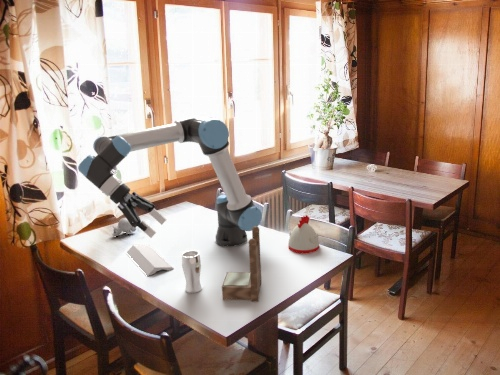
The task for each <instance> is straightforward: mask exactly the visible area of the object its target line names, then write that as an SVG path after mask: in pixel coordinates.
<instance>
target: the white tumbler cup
mask: <svg viewBox="0 0 500 375" xmlns="http://www.w3.org/2000/svg"><path fill="white" fill-rule="evenodd" d="M181 265H182V271H183V275H184V279H185V292H187V293H189V294H195V293H199V292H200V291H202V284H201V271H202V270H201V269H202V268H201V267H202V263H201V256H200V251H199V250H196V249H194V250H193V249H191V250H190V249H189V250H185V251H183V252H182V253H181Z"/></svg>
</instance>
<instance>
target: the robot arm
mask: <svg viewBox="0 0 500 375" xmlns="http://www.w3.org/2000/svg"><path fill="white" fill-rule="evenodd" d="M229 137H230V132H229V128H228V127H227V125H226V123H224V121H222V120H220V119H218V118H216V117H209V116H205V115H194V116H190V117H186V118H183V119H182V118H181V119H178V120H175V121H174V122H173V123H170V124H166V125H165V124H164V125H160V126H155V127H151V128H146V129H141V130H137V131H132V132H127V133H122V134H117V135H113V136H112V135H111V136H108V137H107V136H99V137H96V139H95V140H94V141H93V145H92V146H93V147H92V148H93V150H94V152H95V153H96V154H97V155H95V156H94V155H93V154H90V155H89V154H88V155H87V156H86V157H85V158H84V159H83V160H81V162H80V163H79V165H78V169H77V170H78V171H79V172H80V174H82V176H84V177H85V178H86V179H87V180H88V181H89V182H90V183H91V184H93V185H94V186H95V187H96V188H97V189H98V190H100V192H101V193H103V194H104V195H105V196H106V197H109V200H111V201H112V202H113V203H114V204H115V205H117V207H116V208H118V210H120V211H121V212H122V214H123V216H124V218H127V220H128V221H129V223H130V224H131V226H132V227H134V228H136V229H137V227H138V228H139V229H140V230H141V232H143V233H144V234H146V235H147V237H149V238H150V239H152V238H153V237H154V236H155V235H156V233H157V232H156V231H155V230H154V229H153V228H152V227H151V226H150V225H149V224H147V223H146V222H145V221H144V220H141V217H140V216H139V214H138V212H137V210H136V208H139V209H141V210H143V211H145V212H148V213H149V215H150V216H151V217H153V219H155V220H156V221H157V222H158V223H159V224H160V225H163V224H164V223H165V222H167V218H166V217H164V216H163V215H162V213H160V212H159V211H158V210H157V209H156V208H155V207H156V204H154V203H153V202H151V201H150V200H148V199H145V198H144V197H143V196H141V195H139V193H137V192H135V191H133V192H131V193H130V191H131V188H129V186H127V185H126V184H125V183H123V181H122V179H120V178H119V177H118V176H116V175H115V174H114V173H113V172H112V171H113V170H114V169H115V168H116V167H117V166H118V165H119V164H120V163H121V162H122V161H123V160H124V159H125V158H126V157H127V156H128V155H129V153H131V152H135V151H140V150H145V149H148V148H153V147H154V148H155V147H157V146H163V145H166V144H168V145H169V144H171V143H176V142H178V143H180V144H182V143H196V144H198V145H199V147H200V149H201V152H202V153H203V155H204V156H207V157H208V158H209V161H210V163H211V166H212V168H213V170H214V172H215V175H216V177H217V179H218V181H219V183H220V187H221V189H222V191H223V193H224V194H221V195H218V196H217V197H216V211H217V224H218V225H217V231H216V234H215V243H216V244H217V245H219V246H222V247H237V246H241V245H243V244H246V242H247V241H248V234H247V232H252V228H253V227H254V226H257V227H259V225H260V224H261V221H262V218H263V214H262V213H263V212H262V210H261V209H260V208H259V207H258V206H256V205H255V204H254V201H253V198H252V197H251V195H250V194H247V193H246V190H245V188H244V186H243V184H242V181H241V178H240V175H239V173H238V171H237V169H236V166H235V164H234V161H233V159H232V156H231V154H230V152H229V149H228V147H229V146H230V142H229Z"/></svg>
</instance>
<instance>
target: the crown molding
mask: <svg viewBox="0 0 500 375" xmlns="http://www.w3.org/2000/svg"><path fill="white" fill-rule="evenodd" d="M126 252H127V253H128V254H129V255H130V256H131V258H133V260H134V261H135V262H136V263H137V264H138V265H139V267H140V268H141V269H142V270H143V271H144V272H145V273H146V275H147V277H150V276H152V275H154V274H156V273H157V272H159V271H163V270H165V271H168V270H169V271H172V270H174V269H175V268H174V267H173V266H172V265H171V264H170V263H169V262H168V261H166V259H165V258H164V257H162V256H161V255H160V254H159V253H158V252H157V251H156V250H155V249H154V248H153V247H152V246H151V245H147V244H146V245H145V244H144V245H143V244H142V245H140V244H133V245H132V246H131V247H130V248H129V249H128V250H127V251H126ZM171 269H172V270H171ZM146 275H145V276H146ZM149 275H150V276H149Z"/></svg>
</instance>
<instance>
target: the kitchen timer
mask: <svg viewBox="0 0 500 375" xmlns="http://www.w3.org/2000/svg"><path fill="white" fill-rule="evenodd" d="M309 221H310V216H308V215H307V214H306V215H303V216H301V217H300V220H299V223H297V225H295V227H294V228H293V229H292V231H290V232H289V239H288V245H287V246H288V250H289V251H290V252H292V253H295V254H301V253H302V254H301V255H303V254H312V253H313V254H314V253H315V252H317V251H318V250H319V248H320V241H319V235H318V234H317V232H316V230H315V228H313V227H312V225H310V224H309Z"/></svg>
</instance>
